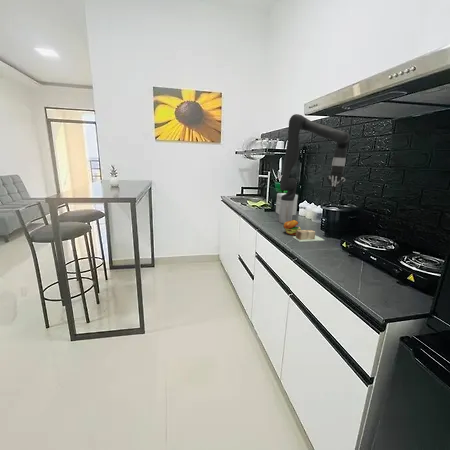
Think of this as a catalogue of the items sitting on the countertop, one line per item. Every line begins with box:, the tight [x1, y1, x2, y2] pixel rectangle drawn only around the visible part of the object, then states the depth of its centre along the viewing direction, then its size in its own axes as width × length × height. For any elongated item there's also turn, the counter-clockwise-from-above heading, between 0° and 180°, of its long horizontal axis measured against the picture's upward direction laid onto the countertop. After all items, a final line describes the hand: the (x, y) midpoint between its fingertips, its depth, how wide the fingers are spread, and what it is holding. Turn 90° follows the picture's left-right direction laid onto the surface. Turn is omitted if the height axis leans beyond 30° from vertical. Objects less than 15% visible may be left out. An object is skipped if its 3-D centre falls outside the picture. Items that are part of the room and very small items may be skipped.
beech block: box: [295, 229, 316, 240], centre depth 150 cm, size 4×4×10 cm
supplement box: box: [275, 192, 299, 216], centre depth 219 cm, size 13×13×18 cm
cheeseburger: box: [283, 219, 302, 236], centre depth 160 cm, size 10×11×10 cm
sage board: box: [292, 234, 325, 243], centre depth 151 cm, size 16×9×1 cm, turn 103°
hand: (333, 192), depth 164 cm, fingers closed
